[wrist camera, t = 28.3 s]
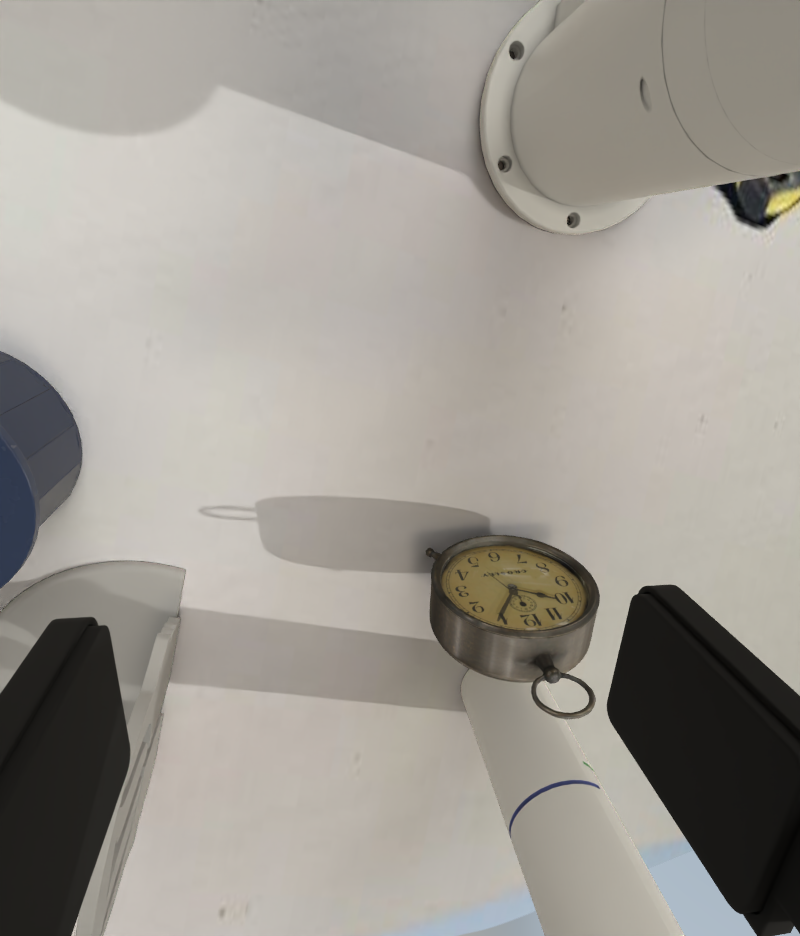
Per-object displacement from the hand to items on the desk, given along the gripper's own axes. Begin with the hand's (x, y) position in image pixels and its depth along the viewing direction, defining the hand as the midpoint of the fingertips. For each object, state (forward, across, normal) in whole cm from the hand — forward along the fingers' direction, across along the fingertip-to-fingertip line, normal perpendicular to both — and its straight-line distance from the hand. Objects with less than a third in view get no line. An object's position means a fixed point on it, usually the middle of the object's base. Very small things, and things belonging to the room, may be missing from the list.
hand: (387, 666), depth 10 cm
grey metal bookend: (+28, +19, +24) cm, 42 cm away
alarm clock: (+28, -12, +15) cm, 34 cm away
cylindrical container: (+28, -15, +28) cm, 43 cm away
